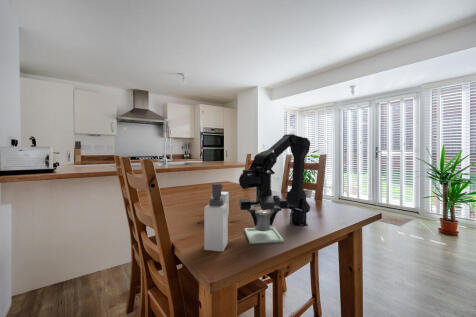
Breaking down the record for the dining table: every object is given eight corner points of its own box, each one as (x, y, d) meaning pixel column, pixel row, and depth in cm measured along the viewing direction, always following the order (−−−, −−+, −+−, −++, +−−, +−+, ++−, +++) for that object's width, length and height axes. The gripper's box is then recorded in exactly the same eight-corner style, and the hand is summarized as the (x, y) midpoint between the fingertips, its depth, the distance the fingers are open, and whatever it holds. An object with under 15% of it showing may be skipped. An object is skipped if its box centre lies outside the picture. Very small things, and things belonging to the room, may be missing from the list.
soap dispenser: (228, 240, 79) (229, 181, 79) (222, 251, 71) (223, 185, 70) (212, 239, 80) (212, 181, 80) (204, 249, 72) (204, 184, 71)
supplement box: (225, 220, 102) (225, 194, 102) (210, 219, 104) (210, 193, 103) (229, 216, 109) (229, 191, 109) (215, 215, 111) (215, 191, 110)
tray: (273, 229, 91) (273, 227, 91) (283, 242, 78) (283, 239, 78) (244, 230, 89) (244, 228, 89) (249, 243, 77) (249, 240, 77)
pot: (268, 225, 88) (268, 209, 88) (271, 231, 82) (272, 214, 82) (253, 226, 87) (253, 210, 87) (256, 231, 81) (256, 214, 81)
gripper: (242, 190, 74) (242, 234, 74) (294, 189, 76) (293, 232, 77) (238, 185, 85) (238, 223, 85) (284, 184, 87) (283, 222, 88)
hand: (263, 225), depth 83 cm, fingers closed on pot, 6 cm apart
